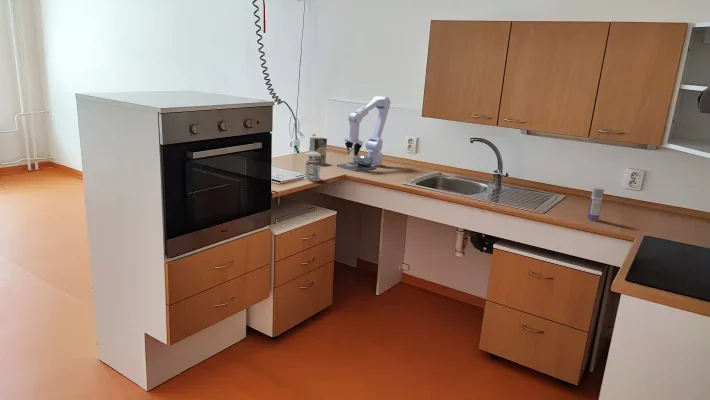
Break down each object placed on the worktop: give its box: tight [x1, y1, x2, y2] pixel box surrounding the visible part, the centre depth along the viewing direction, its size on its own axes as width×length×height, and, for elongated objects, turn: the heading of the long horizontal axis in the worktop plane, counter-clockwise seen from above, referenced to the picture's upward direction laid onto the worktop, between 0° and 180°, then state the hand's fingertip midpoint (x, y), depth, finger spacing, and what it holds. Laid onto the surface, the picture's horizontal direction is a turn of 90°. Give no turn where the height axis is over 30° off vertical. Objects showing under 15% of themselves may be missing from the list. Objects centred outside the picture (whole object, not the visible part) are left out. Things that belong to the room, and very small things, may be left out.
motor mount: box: [336, 153, 377, 172], centre depth 326 cm, size 18×17×7 cm
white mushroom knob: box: [347, 147, 357, 159], centre depth 322 cm, size 7×6×6 cm
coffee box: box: [308, 137, 328, 165], centre depth 331 cm, size 9×6×16 cm
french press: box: [303, 133, 324, 182], centre depth 286 cm, size 10×12×25 cm
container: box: [587, 186, 605, 222], centre depth 241 cm, size 5×5×15 cm
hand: (352, 154), depth 323 cm, fingers closed on white mushroom knob, 5 cm apart
